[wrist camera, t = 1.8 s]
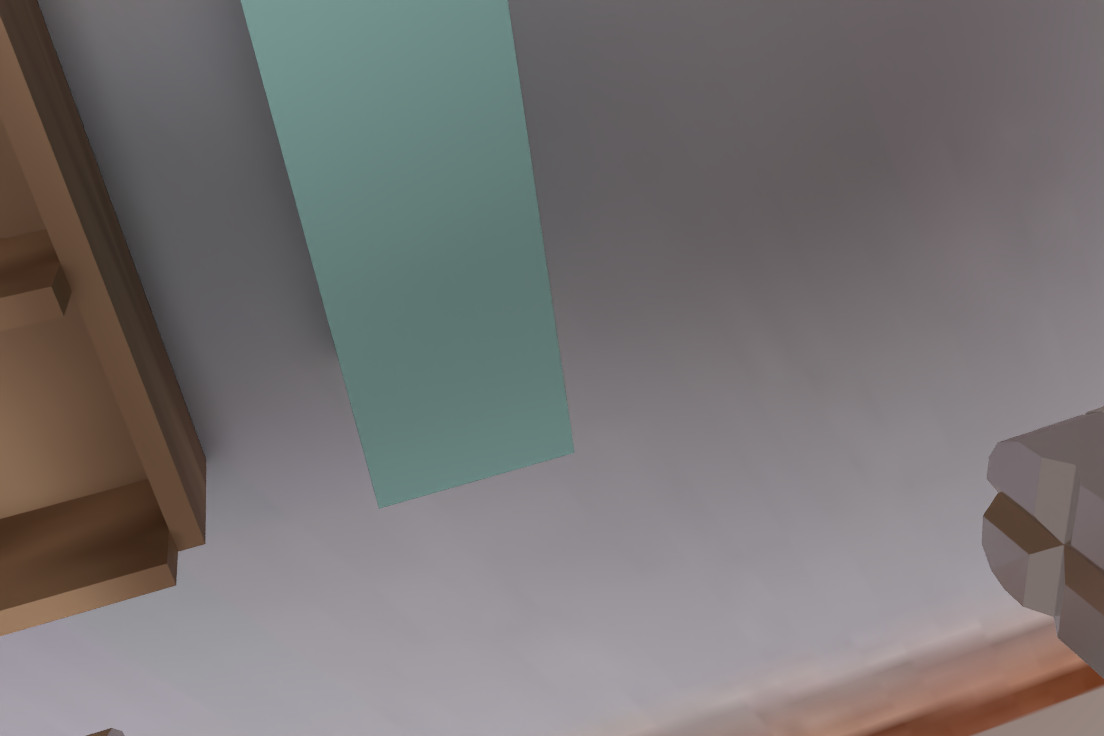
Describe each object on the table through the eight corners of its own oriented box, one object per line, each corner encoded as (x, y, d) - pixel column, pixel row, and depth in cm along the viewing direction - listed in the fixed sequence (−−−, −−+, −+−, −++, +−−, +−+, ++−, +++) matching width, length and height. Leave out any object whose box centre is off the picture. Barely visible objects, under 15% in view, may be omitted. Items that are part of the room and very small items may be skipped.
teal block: (415, -104, 21) (494, -88, 15) (491, 315, 26) (574, 452, 20) (224, -72, 20) (229, -43, 14) (340, 354, 25) (379, 508, 19)
